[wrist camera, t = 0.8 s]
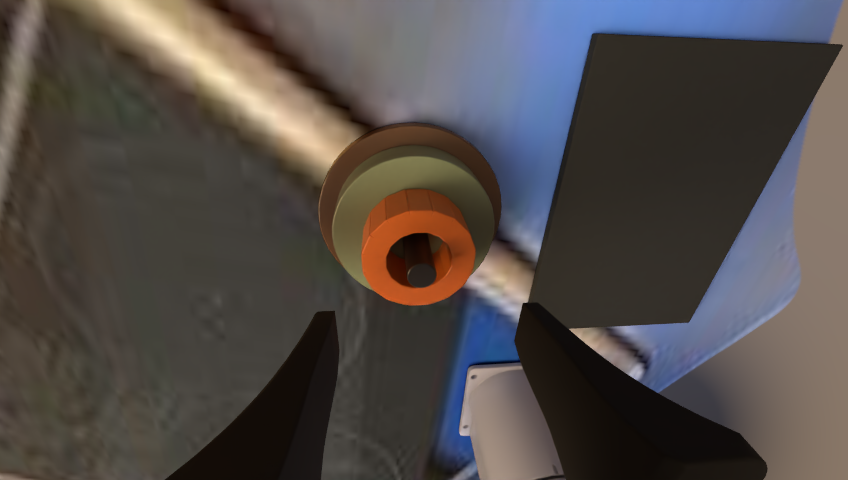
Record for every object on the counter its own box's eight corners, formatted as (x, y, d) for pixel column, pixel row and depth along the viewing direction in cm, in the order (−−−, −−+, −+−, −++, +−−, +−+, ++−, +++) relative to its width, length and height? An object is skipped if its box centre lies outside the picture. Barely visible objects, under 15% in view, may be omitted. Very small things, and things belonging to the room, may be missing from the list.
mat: (683, 317, 30) (689, 322, 29) (522, 325, 28) (524, 331, 28) (831, 44, 19) (844, 44, 19) (592, 33, 18) (598, 33, 17)
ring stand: (486, 281, 25) (516, 353, 20) (329, 287, 24) (313, 365, 19) (511, 123, 20) (563, 160, 14) (308, 120, 19) (277, 159, 13)
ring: (460, 275, 21) (469, 303, 19) (366, 278, 21) (364, 308, 18) (469, 188, 18) (482, 209, 16) (361, 188, 18) (358, 211, 16)
